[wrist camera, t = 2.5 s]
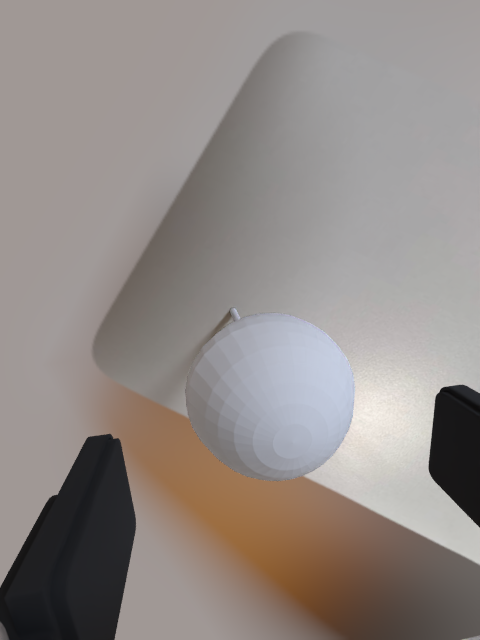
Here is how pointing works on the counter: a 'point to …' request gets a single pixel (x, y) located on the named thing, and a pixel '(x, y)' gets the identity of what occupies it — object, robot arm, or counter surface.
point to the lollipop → (270, 396)
